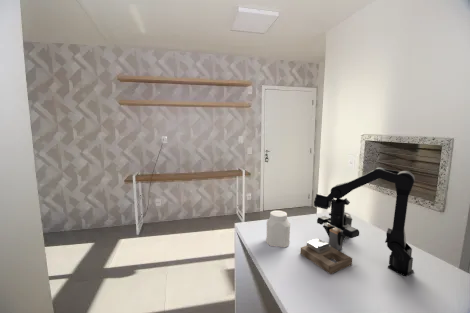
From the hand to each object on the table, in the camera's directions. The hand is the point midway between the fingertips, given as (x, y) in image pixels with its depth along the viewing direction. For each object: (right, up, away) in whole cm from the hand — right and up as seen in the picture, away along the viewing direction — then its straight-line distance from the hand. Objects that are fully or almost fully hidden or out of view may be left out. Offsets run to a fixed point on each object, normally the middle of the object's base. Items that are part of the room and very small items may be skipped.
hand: (335, 243), depth 102 cm
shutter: (-11, 0, -6) cm, 12 cm away
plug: (0, -2, 0) cm, 2 cm away
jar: (-26, -2, +6) cm, 27 cm away
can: (+10, -1, +13) cm, 17 cm away
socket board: (-9, -3, -9) cm, 13 cm away
